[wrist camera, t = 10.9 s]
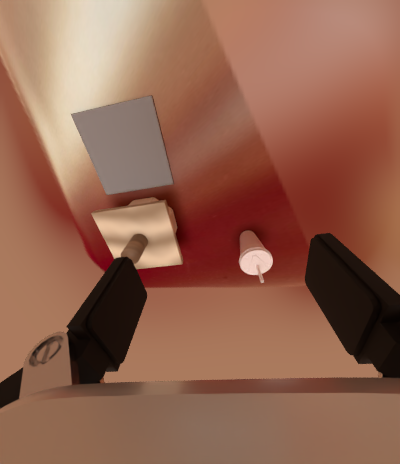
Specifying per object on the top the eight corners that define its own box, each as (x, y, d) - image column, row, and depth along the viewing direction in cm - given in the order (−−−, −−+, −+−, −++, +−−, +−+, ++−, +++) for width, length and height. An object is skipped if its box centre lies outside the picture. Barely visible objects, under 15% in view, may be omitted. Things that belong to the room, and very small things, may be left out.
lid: (94, 210, 34) (72, 227, 29) (165, 199, 33) (157, 214, 27) (122, 267, 41) (109, 288, 36) (183, 260, 39) (178, 282, 34)
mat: (72, 114, 33) (70, 114, 32) (152, 95, 31) (151, 95, 30) (107, 194, 40) (106, 195, 40) (173, 183, 38) (173, 184, 38)
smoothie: (237, 250, 46) (247, 295, 34) (230, 229, 43) (239, 270, 31) (263, 243, 45) (283, 287, 33) (258, 222, 42) (277, 261, 30)
